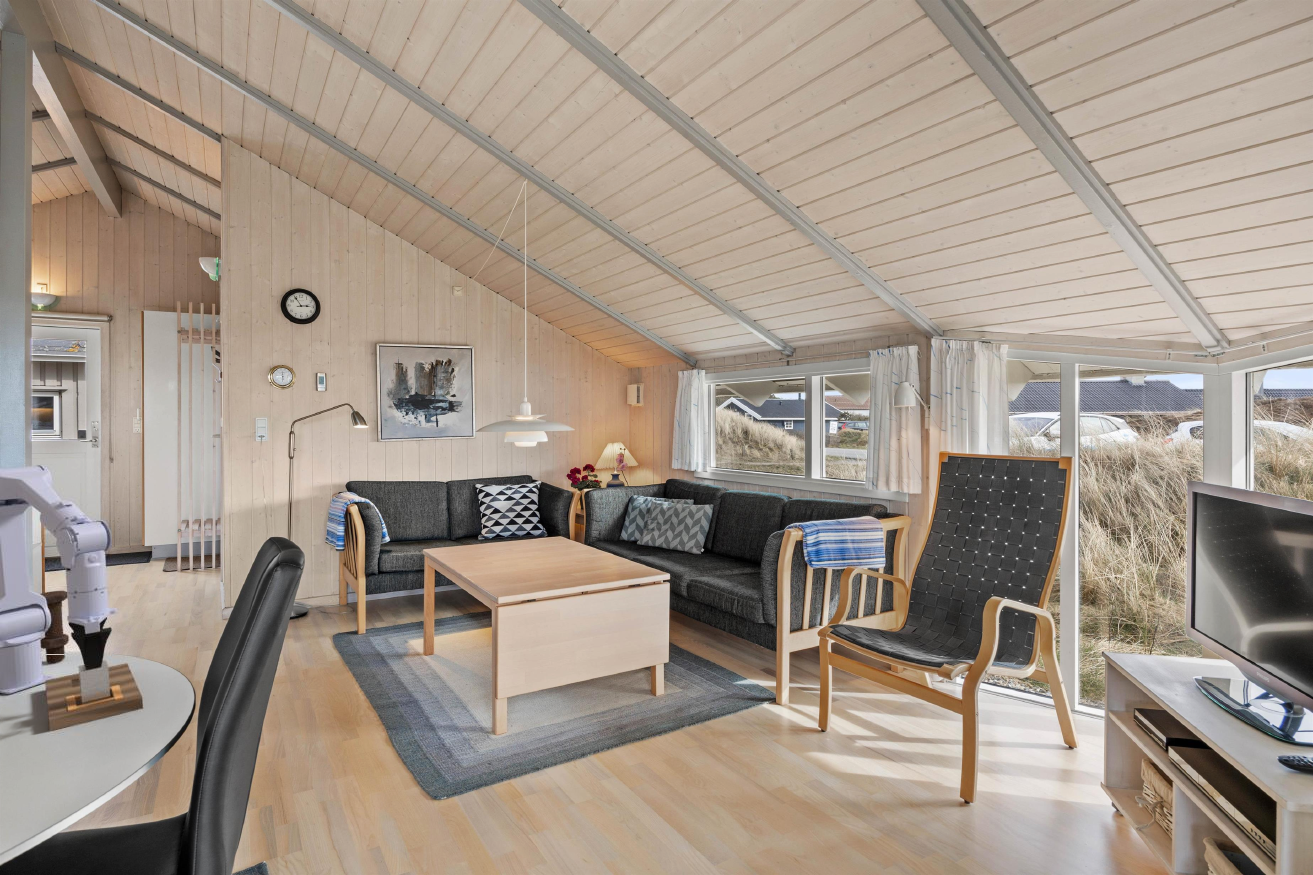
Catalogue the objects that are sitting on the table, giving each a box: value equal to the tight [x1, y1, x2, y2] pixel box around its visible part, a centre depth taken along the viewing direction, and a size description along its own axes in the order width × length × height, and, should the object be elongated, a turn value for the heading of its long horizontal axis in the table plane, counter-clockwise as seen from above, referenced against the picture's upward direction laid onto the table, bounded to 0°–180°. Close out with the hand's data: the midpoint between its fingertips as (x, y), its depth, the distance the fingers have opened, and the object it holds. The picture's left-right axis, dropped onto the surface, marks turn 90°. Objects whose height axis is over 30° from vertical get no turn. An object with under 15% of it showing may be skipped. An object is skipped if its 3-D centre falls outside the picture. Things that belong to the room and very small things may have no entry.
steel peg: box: [77, 659, 110, 705], centre depth 132 cm, size 4×4×8 cm
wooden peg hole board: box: [44, 662, 144, 732], centre depth 136 cm, size 24×13×2 cm, turn 42°
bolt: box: [39, 590, 70, 664], centre depth 157 cm, size 6×5×15 cm
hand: (92, 662), depth 131 cm, fingers open, 7 cm apart
